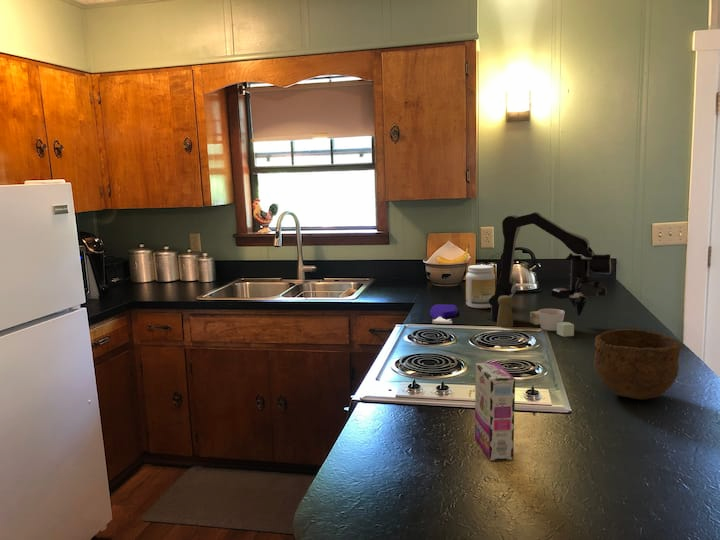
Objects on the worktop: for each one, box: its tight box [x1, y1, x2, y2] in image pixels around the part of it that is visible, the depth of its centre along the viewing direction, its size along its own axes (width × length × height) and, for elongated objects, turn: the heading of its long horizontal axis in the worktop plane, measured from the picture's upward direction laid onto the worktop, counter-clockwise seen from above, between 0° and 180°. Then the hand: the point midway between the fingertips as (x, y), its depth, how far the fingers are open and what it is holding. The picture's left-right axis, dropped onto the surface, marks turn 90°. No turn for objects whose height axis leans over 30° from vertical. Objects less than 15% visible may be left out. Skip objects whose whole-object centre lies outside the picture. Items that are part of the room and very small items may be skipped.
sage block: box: [556, 321, 575, 337], centre depth 203 cm, size 4×4×4 cm
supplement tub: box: [465, 264, 496, 309], centre depth 251 cm, size 12×12×17 cm
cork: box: [496, 295, 514, 328], centre depth 217 cm, size 6×6×11 cm
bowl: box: [593, 328, 682, 401], centre depth 144 cm, size 19×19×15 cm
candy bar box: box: [474, 361, 516, 462], centre depth 118 cm, size 11×5×16 cm, turn 5°
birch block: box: [529, 310, 540, 325], centre depth 220 cm, size 4×4×4 cm
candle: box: [537, 308, 566, 332], centre depth 211 cm, size 9×9×6 cm
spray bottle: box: [429, 303, 459, 325], centre depth 233 cm, size 3×11×24 cm
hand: (578, 315), depth 213 cm, fingers closed
